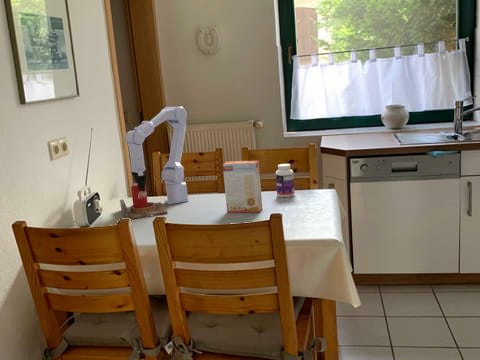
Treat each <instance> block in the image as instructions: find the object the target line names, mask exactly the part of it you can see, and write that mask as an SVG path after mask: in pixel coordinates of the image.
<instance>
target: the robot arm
mask: <svg viewBox="0 0 480 360" xmlns="http://www.w3.org/2000/svg"><path fill="white" fill-rule="evenodd" d="M187 115H188V112H187V111H186V109H185V108H184V107H183V106H181V105H180V106H179V105H178V106H165V107H164V108H163V109H161V110H160V112H158V113H157V114H156V115H155V116H153V118H151V120H142V122H141V124H139V125H138V126H135V127H134V128H133V130H129V131H127V132H126V134H125V136H124V141H125V142H126V143H127V147H128V152H129V158H130V159H129V160H130V165H131V166H130V167H131V168H129V169H128V171H129V172H131V175H132V176H133V178H134V181H135V182H134V183H137V185H138V188H139V191H145V186H146V180H147V177H148V174H145V171H146V169H147V168H146V165H145V156H144V148H143V143H144V142H145V140H146V138H147V137H148V136H150V135H152V134H153V133H154V132H155V127H158V126H159V125H160V124H162V123H164V122H165V121H167V123H169V124H170V125H171V126H172V127H173V133H172V139H171V145H170V151H169V156H168V161H167V162H166V163H165V164H164V165H163V168H162V171H161V173H160V174H161V176H160V177H161V180H162V181H164V184H165V190H166V191H165V192H166V199H165V202H166V203H167V205H174V204H180V203H186V202H189V195H188V188H187V183H186V181H184V178H185V174H184V171H185V169H184V166H183V165H182V164H181V161H182V156H183V148H184V143H185V137H186V132H187V117H188V116H187Z"/></svg>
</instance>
